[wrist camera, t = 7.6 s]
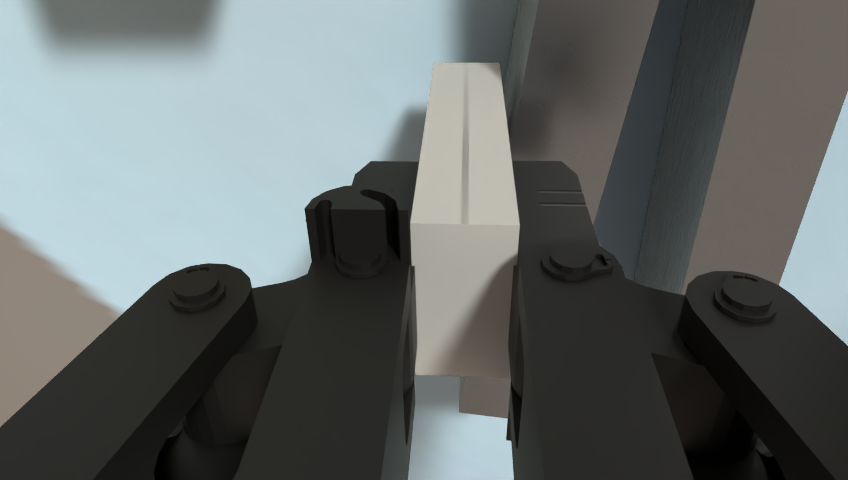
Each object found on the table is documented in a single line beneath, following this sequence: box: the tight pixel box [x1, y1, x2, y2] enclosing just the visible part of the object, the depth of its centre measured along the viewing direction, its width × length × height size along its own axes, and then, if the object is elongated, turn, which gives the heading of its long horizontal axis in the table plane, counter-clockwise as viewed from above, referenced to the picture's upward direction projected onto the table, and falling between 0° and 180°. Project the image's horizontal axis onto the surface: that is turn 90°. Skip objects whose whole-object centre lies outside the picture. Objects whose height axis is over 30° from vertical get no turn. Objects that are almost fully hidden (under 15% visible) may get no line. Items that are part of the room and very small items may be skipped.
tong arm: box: [459, 0, 660, 418], centre depth 13 cm, size 19×2×4 cm, turn 174°
